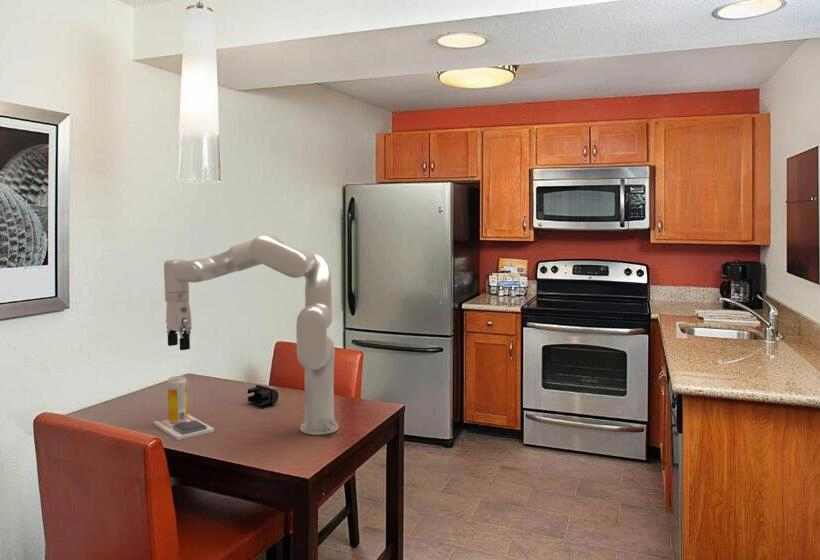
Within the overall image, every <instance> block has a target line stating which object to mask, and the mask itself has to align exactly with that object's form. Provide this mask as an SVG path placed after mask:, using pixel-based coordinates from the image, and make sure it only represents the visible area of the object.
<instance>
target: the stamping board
mask: <svg viewBox="0 0 820 560" xmlns="http://www.w3.org/2000/svg"><path fill="white" fill-rule="evenodd" d="M153 425H154V426H155V427H157V428H158V429H159V430H161V431H163V432H164V433H166V434H167V435H169V436H170V437H172V438H174V439H175V440H176V441H180V440H185V439H188V438H192V437H193V438H194V437H197V436H201V435H206V434H209V433H210V434H211V433H214V432H215V428H214V427H212V426H210V425H208V424H207V423H204V422H203V421H201V420H199V419H197V418H196V417H194V416H192V415H191V414H189V413H188V419H187V420H186V422H184V423H180V424H172V423H171V422H170V421H169V418H165V419H164V418H163V419H161V420H156V421H153Z"/></svg>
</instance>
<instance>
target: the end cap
mask: <svg viewBox="0 0 820 560" xmlns="http://www.w3.org/2000/svg"><path fill="white" fill-rule="evenodd" d="M252 393H253V394H252ZM247 394H252V395H249V396H247V401H248V404H249V406H252V407H254V408H258V409H261V410H265V408H266V409H269V408H272V407H274V405H275V404H276V403H277V402H278V401H279V393H278V391H277V390H276V389H274V388H271V387H267V386H264V385H260V384H255V387H251V388H248V389H247Z"/></svg>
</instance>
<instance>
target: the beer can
mask: <svg viewBox="0 0 820 560" xmlns="http://www.w3.org/2000/svg"><path fill="white" fill-rule="evenodd" d="M167 404H168V405H167V406H168V407H167V408H168V411H167V413H168V419H169V421H170V422H171V423H172V424H180V423H184V422H186V420H187V419H188V414H189V413H188V412H189V410H188V409H189V408H188V381H187V379H186V376H182V375H175V376H171V377H169V378H168V380H167Z"/></svg>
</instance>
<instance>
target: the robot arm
mask: <svg viewBox="0 0 820 560" xmlns="http://www.w3.org/2000/svg"><path fill="white" fill-rule="evenodd" d="M259 265H260V266H261V265H264V266H265V267H268V268H270V269H272V270H274V271H276V272H278V273H280V274H282V275H284V276H286V277H289V278H293V279H299V278H303V277H304V279H305V285H304V297H305V298H304V303H305V304H304V308H302V309H301V311H299V314H298V315H297V318H296V327H295V329H296V330H295V331H296V356H297V357H296V358H297V360H298V363H299V364H300V366H301V367H302V368H303V369H304V422H303V423H302V424H301V425H300V427H299V430H300V431H301V433H303V434H305V435H310V436H322V435H323V436H324V435H330V434H333V433H335V432H337V431H338V430H339V423H338V422H336V418H335V415H334V413H335V412H334V411H335V409H334V408H335V407H334V405H335V403H334V402H335V398H334V397H335V395H334V393H335V392H334V388H335V387H334V386H335V385H334V382H335V379H334V378H335V376H334V374H335V360H336V359H335V358H336V357H335V356H336V348H335V344H334V342H333V340H332V339H331V338H330V336H327V335H328V334H327V333H328V331H327V330H328V328H329V327H330V326H331V324H332V322H333V309H332V307H333V305H332V304H333V302H332V301H333V300H332V299H333V298H332V277H331V276H332V275H331V271H330V268H329V266H328V263H327V262H326V260H325V259H324V258H323V257H322V256H321V255H320V254H318V253H316V252H315V251H313V250H309V249H298V250H295V249H293V248H292V247H289V246H286V245H285V244H284V242H283V240H282V239H281V238H280V237H279V236H277V235H275V234H262V235H261V234H260V235H258V236H256V237H254V238H253V239H251V240H248V241H244V242H241V243H239V244H235V245H232V246H230V248H229V249H228V250H227V251H223V252H221V253H218V254H214V255H211V256H208V257H204V258H197V259H190V260H185V259H168V260H167V259H166V260H165V261H164V263H163V275H164V276H163V277H164V279H163V280H164V281H163V282H164V301H165V302H166V309H165V311H166V313H165V315H166V318H165V319H166V320H165V322H166V329H167V330H166V334H167V346H168V347H172V346H178V344H179V350H180V351H187V350H190V349H191V344H190V343H191V340H190V339H191V338H190V337H191V331H192V327H193V326H192V324H193V323H192V313H191V307H190V302H189V301H190V286H189V285H190V284H189V283H194V284H195V283H201V282H205V281H209V280H210V281H211V280H214V279H216V278H220V277H223V276H226V275H229V274H232V273H236V272H241V271H243V270H248V269H250V268H254V267H256V266H259ZM177 332H178V333H177ZM178 334H179V336H180V337H179V339H178ZM178 341H179V342H178Z"/></svg>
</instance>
